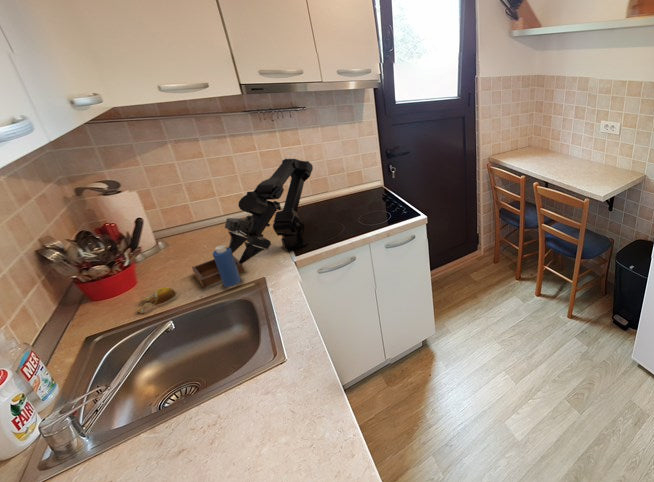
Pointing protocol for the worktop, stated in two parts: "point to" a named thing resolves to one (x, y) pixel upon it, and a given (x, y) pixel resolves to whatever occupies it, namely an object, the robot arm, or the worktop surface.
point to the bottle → (226, 266)
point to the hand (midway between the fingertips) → (234, 259)
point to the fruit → (159, 297)
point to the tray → (211, 272)
